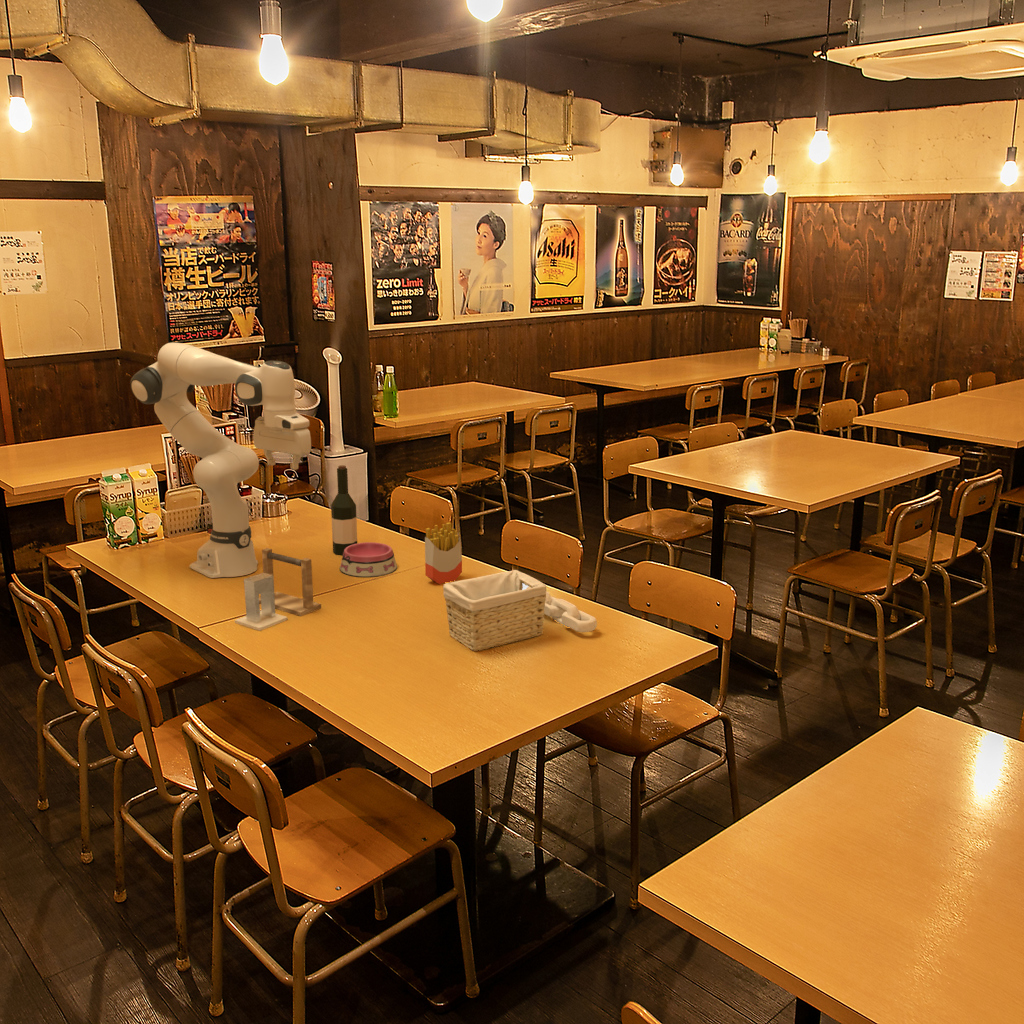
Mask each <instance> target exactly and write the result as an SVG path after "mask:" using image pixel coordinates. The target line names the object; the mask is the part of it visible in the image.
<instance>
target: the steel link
mask: <svg viewBox="0 0 1024 1024" xmlns="http://www.w3.org/2000/svg"><path fill="white" fill-rule="evenodd" d="M273 575H274V574H273ZM273 575H270V574H266V573H263V572H261V573H259V574H258V573H257V574H255V575H252V576H249V577H246V578H243V584H244V588H243V589H244V600H245V614H246V615H245V616H246V618H247V621H250V622H253V623H256V624H257V623H259V622H261V621H260V610H262V615H264V616H268V617H271V618H272V617H275V616H276V615H275V613H276V609H275V598H274V592H275V580H274V581H273ZM259 598H261V604H259ZM260 607H261V609H260Z"/></svg>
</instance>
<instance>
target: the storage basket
mask: <svg viewBox="0 0 1024 1024" xmlns="http://www.w3.org/2000/svg"><path fill="white" fill-rule="evenodd" d="M523 584H524V585H525V586H527V587H531V588H530V589H526V588H525V589H524V586H523ZM442 588H443V589H442V590H443V597H444V600H445V606H446V607H445V609H446V613H447V621H448V629H449V631H448V632H449V635H450V637H452V638H453V639H455V641H458V642H459V643H460V642H461V643H460V644H462V645H464V646H465V647H467V648H468V649H469V648H470V649H469V650H471V651H475V652H477V651H478V650H479V651H484V650H483V649H485V650H487V649H490V647H492V648H495V647H500V646H502V644H503V645H506V643H508V644H510V643H514V641H516V642H518V640H519V641H522V640H526V639H527V640H528V639H530V638H535V637H538V636H541V635H542V634H543V632H544V631H543V630H544V617H545V614H544V606H545V601H546V591H547V585H546V584H545V583H543V582H542V581H540V580H539V579H536V578H534V577H533V576H531V575H529V574H526V573H524V572H522V571H520V570H518V569H513V570H509V571H502V572H498V573H492V574H488V575H482V576H478V577H473V578H468V579H461V580H455V581H454V582H449V583H445V584H443V586H442ZM499 645H500V646H499ZM494 646H495V647H494Z"/></svg>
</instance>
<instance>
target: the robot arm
mask: <svg viewBox="0 0 1024 1024" xmlns="http://www.w3.org/2000/svg"><path fill="white" fill-rule="evenodd" d="M227 384H235V385H234V393H235V395H236V397H237V400H239V402H240V403H242V405H244V406H249V407H250V406H251V407H255V406H256V407H257V406H260V405H261V406H263V416H258V417H257V418H256V419H255V421H254V428H253V446H254V447H255V449H258V450H259V449H260V450H263V454H264V456H265V459H266V462H267V465H268V466H275V465H276V458H275V457H274V456H273V454H272V453H273V452H277V453H281V454H282V453H283V454H289V455H291V458H292V462H290V463H289V464H290V465H289V466H290V469H291V470H294V471H295V470H299V463H300V460H302V459H301V458H302V456H306V455H309V454H310V452H312V437H311V431H310V430H309V427H310V420H309V419H308V418H307V417H305V416H303V415H301V414H300V413H298V412H297V409H296V404H295V393H296V386H295V377H294V373H293V369H292V366H291V365H290V364H289V363H287V362H284V361H281V360H266V361H265V362H263V364H262V365H261V366H257V365H254V364H249V363H246V362H243V361H238V360H235V359H231V358H229V357H226V356H223V355H220V354H216V353H213V352H212V351H208V350H205V349H203V348H200V347H197V346H194V345H191V344H188V343H183V342H168V343H165V344H164V345H162V346H161V348H160V349H159V350H158V354H157V361H156V362H154V363H152V364H151V365H148V366H146V367H145V368H142V369H140V370H138V371H136V372H135V374H133V376H132V377H131V379H130V390H131V392H132V395H133V396H134V398H136V400H137V401H138V402H140V403H141V404H145V405H152V404H154V406H153V407H154V408H153V409H154V413H155V414H156V416H157V418H158V420H159V421H160V423H161V424H162V425H163V427H164V428H165V429H166V430H167V431H168V432H169V434H170V435H172V437H173V438H174V439H175V440H176V441H177V442H178V444H179V445H180V447H182V448H183V449H184V450H185V451H186V453H188V454H190V455H193V456H197V457H199V458H201V460H199V461H198V462H197V463H196V464H195V465H194V468H193V472H192V474H193V475H192V476H193V479H194V481H195V484H196V485H197V486H198V487H199V488H200V489H202V490H203V491H204V493H205V494H206V497H207V498H208V502H209V504H210V505H209V506H210V510H211V519H212V528H209V529H208V532H207V534H210V536H209V539H208V540H207V541H206V542H205V543H204V544H203V545H201V546H200V547H199V548H198V549H197V553H196V561H194V562H191V563H190V564H189V569H192V570H193V571H195V572H197V573H200V574H201V575H204V576H205V577H208V578H209V579H214V578H233V577H241V576H246V575H249V574H253V573H254V572H256V571H257V570H258V564H259V561H258V559H256V553H255V548H254V541H253V540H252V539H251V538H252V527H251V526H250V522H249V521H250V518H249V505H248V502H247V501H246V500H245V499H244V498H242V496H241V495H240V492H239V490H238V484H239V483H241V482H244V481H246V480H249V479H250V478H251V477H252V476H253V475H254V474H255V473H257V471H258V469H259V467H260V466H259V465H260V461H259V457H258V455H257V453H256V452H255V451H254V450H253V449H252V448H250V447H247V446H243V445H242V444H239V443H237V442H235V441H233V440H232V439H230V438H229V437H228V436H226V435H224V434H223V433H222V432H220V431H219V430H218V429H216V427H214V425H212V424H211V423H210V421H209V420H208V419H207V418H206V417H205V416H203V414H202V413H201V412H200V411H199V410H198V409H197V408H196V407H195V406H194V405H193V404H192V403H191V402H190V401H189V399H188V395H187V393H192V392H194V390H195V386H197V387H198V386H199V387H211V386H217V385H227Z"/></svg>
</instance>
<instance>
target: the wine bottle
mask: <svg viewBox="0 0 1024 1024" xmlns="http://www.w3.org/2000/svg"><path fill="white" fill-rule="evenodd" d="M337 467H338V468H336V473H337V474H336V475H337V476H336V477H337V478H336V479H337V494H336V495H335V498H334V499H333V501H332V502H331V505H330V510H331V511H330V512H331V514H330V515H331V533H332V534H331V535H332V536H331V537H332V552H333V554H334V555H335V556H341V557H343V556H342V555H343V553H344V550H345V548H346V547H348V546H350V545H353V544H357V543H358V525H357V521H358V520H357V504H356V503H355V501H354V500H353V498H352V497H351V495H350V493H349V482H348V481H349V479H348V468H347V466H346V465H338V466H337Z"/></svg>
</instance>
